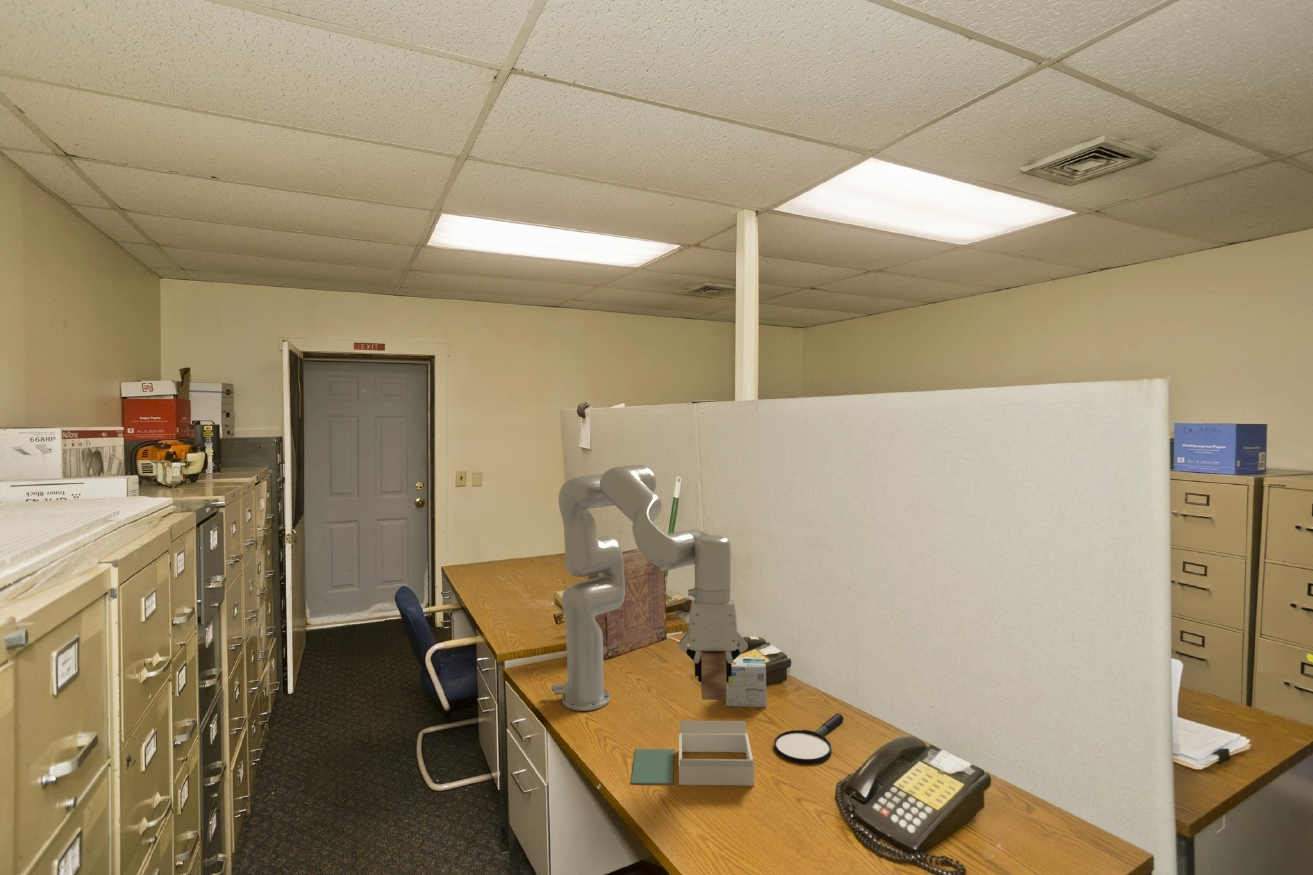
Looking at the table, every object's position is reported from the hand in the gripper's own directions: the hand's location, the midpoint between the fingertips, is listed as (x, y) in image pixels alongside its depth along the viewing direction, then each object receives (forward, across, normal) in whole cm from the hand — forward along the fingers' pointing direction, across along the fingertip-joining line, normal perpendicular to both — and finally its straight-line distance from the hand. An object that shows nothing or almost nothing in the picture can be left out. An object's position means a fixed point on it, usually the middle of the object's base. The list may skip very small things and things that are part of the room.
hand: (713, 678), depth 134 cm
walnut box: (+3, 0, 0) cm, 3 cm away
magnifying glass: (+20, +24, +12) cm, 33 cm away
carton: (+19, 0, 0) cm, 19 cm away
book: (+20, -24, +71) cm, 77 cm away
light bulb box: (+19, +10, +31) cm, 38 cm away
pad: (+19, -13, 0) cm, 23 cm away
